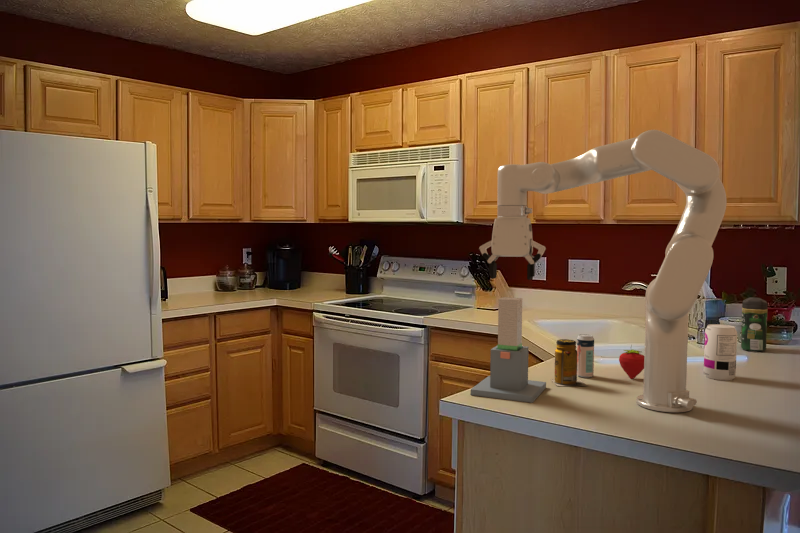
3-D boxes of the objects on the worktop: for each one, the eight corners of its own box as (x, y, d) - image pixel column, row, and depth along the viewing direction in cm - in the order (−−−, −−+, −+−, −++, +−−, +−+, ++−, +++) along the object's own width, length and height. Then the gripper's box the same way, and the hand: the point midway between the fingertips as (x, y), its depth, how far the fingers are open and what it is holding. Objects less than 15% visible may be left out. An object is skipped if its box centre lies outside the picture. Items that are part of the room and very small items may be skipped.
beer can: (580, 373, 182) (581, 333, 181) (595, 376, 179) (596, 335, 178) (573, 376, 178) (574, 335, 177) (589, 379, 175) (590, 337, 174)
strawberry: (644, 382, 171) (645, 347, 170) (616, 379, 175) (617, 344, 174) (648, 378, 176) (649, 343, 175) (620, 375, 180) (621, 341, 179)
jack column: (521, 361, 163) (522, 298, 162) (516, 365, 158) (517, 300, 157) (502, 360, 165) (503, 297, 164) (497, 363, 160) (498, 299, 159)
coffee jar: (740, 346, 224) (742, 295, 223) (765, 348, 220) (767, 297, 219) (740, 351, 216) (742, 298, 214) (766, 353, 212) (768, 299, 211)
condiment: (550, 380, 174) (551, 338, 173) (580, 380, 174) (581, 338, 173) (556, 386, 167) (557, 343, 166) (588, 386, 167) (589, 343, 166)
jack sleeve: (546, 387, 166) (546, 345, 165) (532, 402, 151) (533, 356, 150) (488, 381, 172) (489, 340, 172) (470, 395, 158) (470, 350, 157)
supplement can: (699, 377, 177) (701, 326, 176) (708, 372, 183) (710, 322, 182) (730, 382, 172) (732, 329, 171) (738, 377, 178) (740, 325, 177)
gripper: (548, 212, 159) (547, 278, 160) (484, 213, 166) (483, 276, 167) (542, 212, 152) (541, 281, 153) (475, 213, 159) (475, 279, 160)
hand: (511, 278), depth 160 cm, fingers open, 9 cm apart
